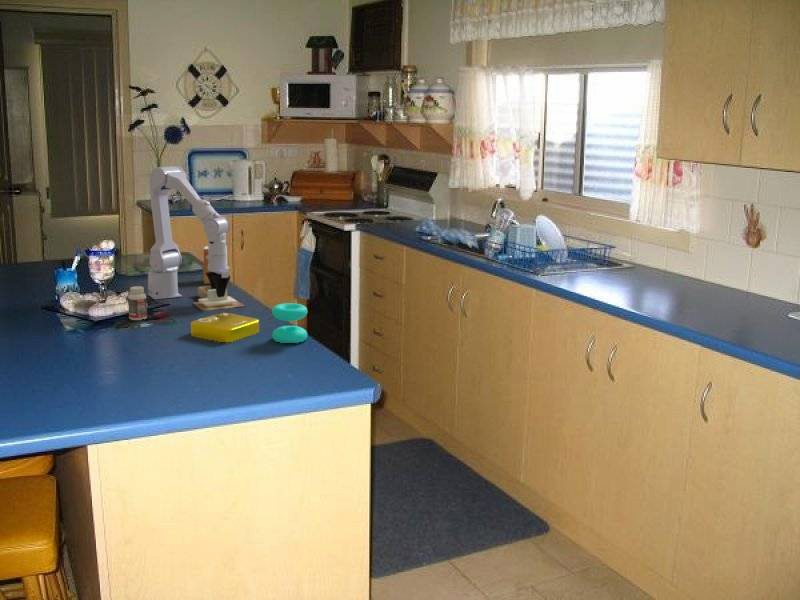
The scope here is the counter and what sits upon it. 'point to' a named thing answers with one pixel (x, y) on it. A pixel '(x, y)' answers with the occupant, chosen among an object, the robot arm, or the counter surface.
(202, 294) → the box
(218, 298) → the lid
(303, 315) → the donuts
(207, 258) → the small box
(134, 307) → the pill bottle
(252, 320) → the element tile
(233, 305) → the mat
